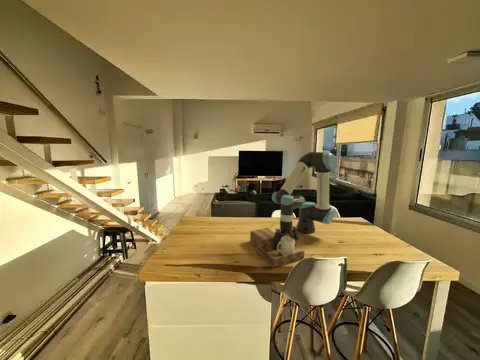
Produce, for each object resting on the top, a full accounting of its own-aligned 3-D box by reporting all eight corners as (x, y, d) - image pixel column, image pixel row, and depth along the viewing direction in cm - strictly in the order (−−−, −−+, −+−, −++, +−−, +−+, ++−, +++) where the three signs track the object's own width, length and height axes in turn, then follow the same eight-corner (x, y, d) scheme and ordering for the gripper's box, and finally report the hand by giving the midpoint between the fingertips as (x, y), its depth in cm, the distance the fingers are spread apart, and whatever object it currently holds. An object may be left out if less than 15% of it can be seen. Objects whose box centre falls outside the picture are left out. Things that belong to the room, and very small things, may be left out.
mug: (276, 258, 134) (277, 242, 132) (273, 251, 142) (274, 236, 140) (295, 257, 135) (296, 242, 133) (291, 251, 143) (292, 236, 141)
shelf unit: (272, 236, 164) (272, 226, 163) (304, 258, 134) (304, 246, 132) (245, 242, 154) (245, 231, 153) (272, 267, 124) (273, 254, 122)
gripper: (297, 215, 143) (295, 246, 147) (266, 220, 132) (265, 253, 136) (305, 219, 136) (303, 251, 140) (273, 225, 126) (272, 259, 129)
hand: (284, 252), depth 138 cm, fingers open, 12 cm apart
